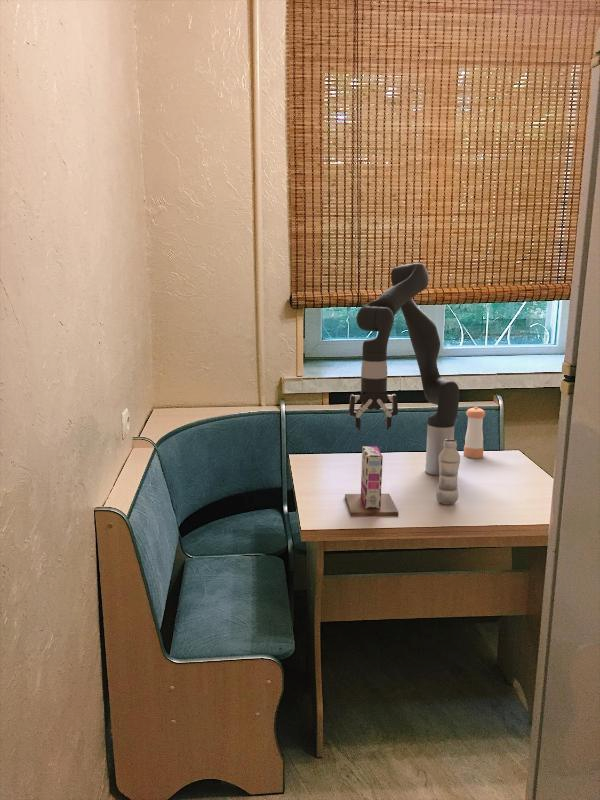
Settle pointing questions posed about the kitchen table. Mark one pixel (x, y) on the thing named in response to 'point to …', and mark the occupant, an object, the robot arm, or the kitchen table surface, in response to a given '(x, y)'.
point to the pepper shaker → (474, 433)
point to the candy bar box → (371, 477)
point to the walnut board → (358, 509)
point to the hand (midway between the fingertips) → (372, 429)
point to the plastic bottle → (448, 473)
